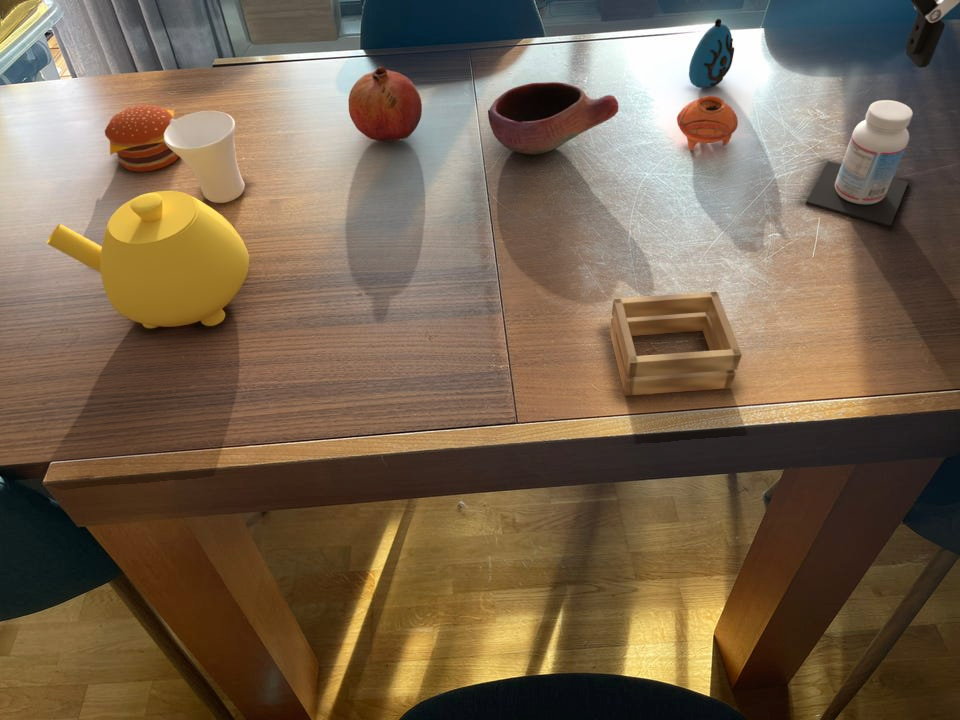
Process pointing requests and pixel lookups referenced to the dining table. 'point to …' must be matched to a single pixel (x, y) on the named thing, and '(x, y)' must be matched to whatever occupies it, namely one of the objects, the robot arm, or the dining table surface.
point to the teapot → (164, 260)
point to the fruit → (385, 105)
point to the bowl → (546, 116)
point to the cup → (208, 152)
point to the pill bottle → (874, 153)
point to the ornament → (712, 57)
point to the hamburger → (141, 138)
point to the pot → (707, 121)
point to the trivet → (875, 213)
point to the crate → (678, 367)
